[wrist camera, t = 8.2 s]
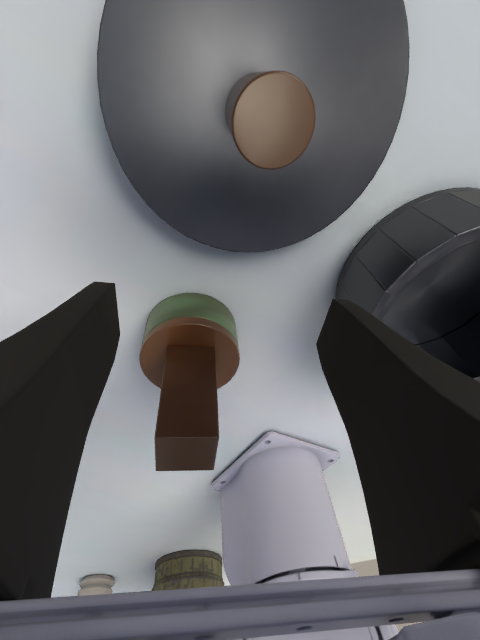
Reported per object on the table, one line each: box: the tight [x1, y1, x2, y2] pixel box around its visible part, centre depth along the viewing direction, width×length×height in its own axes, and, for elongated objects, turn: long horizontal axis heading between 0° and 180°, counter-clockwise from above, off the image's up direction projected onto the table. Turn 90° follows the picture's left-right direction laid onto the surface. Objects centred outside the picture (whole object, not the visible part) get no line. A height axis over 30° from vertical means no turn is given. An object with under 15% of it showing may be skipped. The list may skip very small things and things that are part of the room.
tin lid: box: [97, 0, 409, 252], centre depth 11 cm, size 11×11×5 cm
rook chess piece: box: [78, 575, 115, 596], centre depth 40 cm, size 4×4×8 cm
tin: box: [336, 188, 480, 382], centre depth 17 cm, size 10×10×4 cm
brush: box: [140, 293, 240, 471], centre depth 16 cm, size 5×5×8 cm
